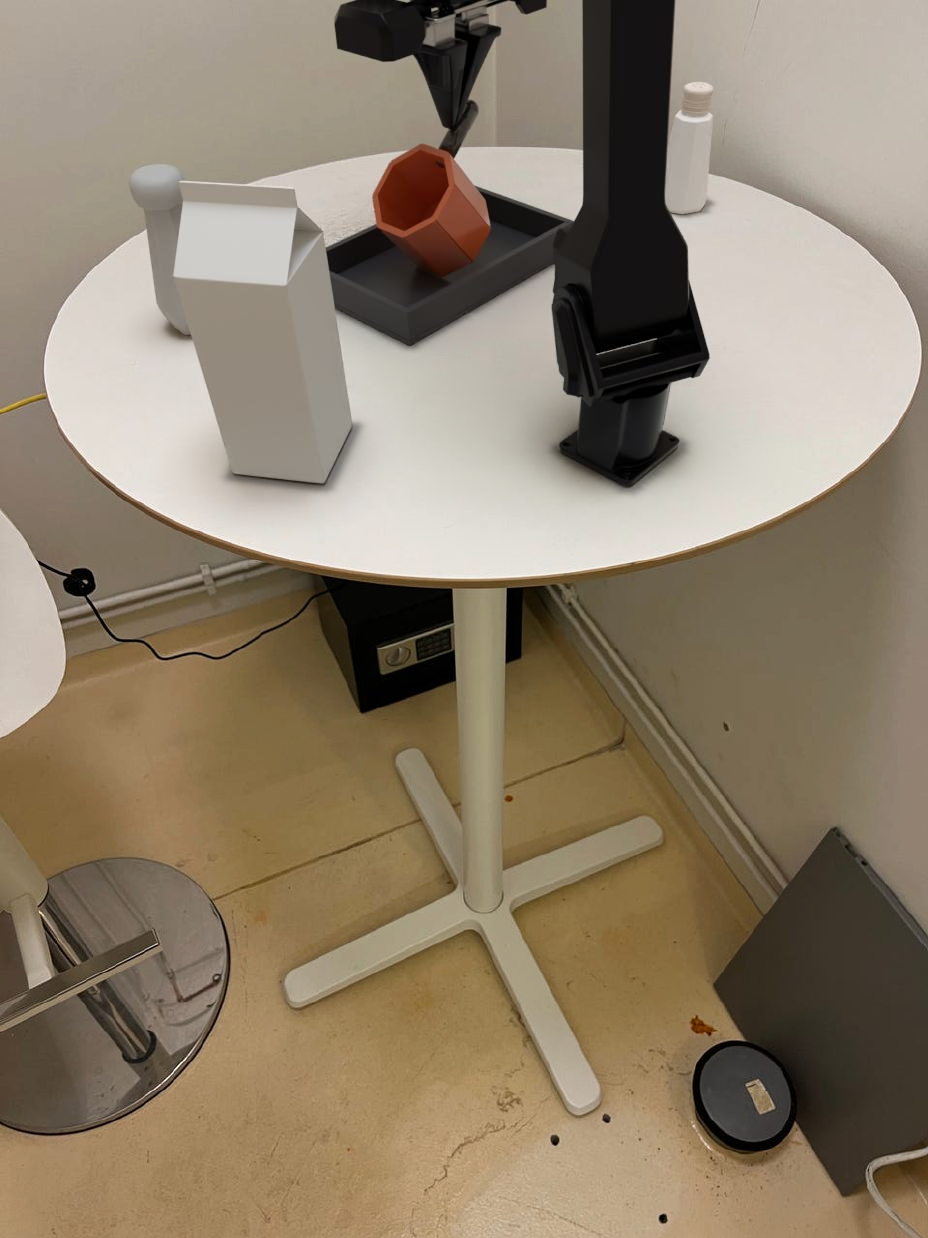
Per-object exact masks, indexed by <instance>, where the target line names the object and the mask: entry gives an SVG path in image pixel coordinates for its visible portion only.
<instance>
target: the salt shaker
mask: <svg viewBox="0 0 928 1238" xmlns="http://www.w3.org/2000/svg"><path fill="white" fill-rule="evenodd" d="M179 181H186V179H185V176H184V174H183V172H181V170H180V169H179V168H177V167H176V166H174V165H171V164H168V163H167V164H166V163H156V164H148V165H145V166H142V167H139V168H137V169H136V170H134V171H133V172H132V174H131V176H130V178H129V180H128V185H129V192H130V194H131V196H132V197H131V198H132V200H133V201H134V202H135V203H136V205H137V206H138V207H139V208H142V209H143V214H144V222H145V228H146V235H147V242H148V250H149V257H150V264H151V265H150V266H151V273H152V279H153V287H154V294H155V301H156V305H157V307H158V309H159V311H160V312H161V314H162V315H163V316H164V318H166V319H167V321H168V322H169V323H170V324H171V325H172V327H173V328H174V329H176V331H178V332H180V333H181V334H182V335H184V336H191V333H190V329H189V326H188V323H187V319H186V316H185V312H184V309H183V306H182V302H181V299H180V296H179V292H178V289H177V286H176V282H175V279H174V277H173V274H174V266H175V259H176V251H177V244H178V236H179V229H180V221H181V213H182V206H183V198H182V194H181V191H180V187H179Z"/></svg>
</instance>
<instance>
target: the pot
mask: <svg viewBox="0 0 928 1238" xmlns="http://www.w3.org/2000/svg"><path fill="white" fill-rule="evenodd" d="M479 113H480V107H479V105H478V103H477V102H476V100H474V99H471V98H468V101H467V103H466V106H465V108H464V111H463V113H462V116H461V118H460V121H459V124H458V126H457V127H455V128H453V129H448V128H447V131H446V132H445V135H444V137H443V139H442V140H441V142H440V143H439V146H438V148H437V147H434V146H431V145H429V144H426V143H423V142H422V143H419V144H417V145H416V146H414V147H412V148H410V149H408V150H407V151H405V152H404V153H402V154H399V155H398V156H396V157H395V158H393V159H391V160H390V162H388V164H387V166H386V168H385V170H384V172H383V173H382V176H381V177H380V179H379V181H378V183H377V185H376V187H375V188H374V191H373V192H372V196H371V199H372V204H373V209H374V210H373V211H374V219H375V224H376V225H377V227H378V228H379V229H380V230H381V231H382V232H383V233H384V234H385V235H386V236H387V237H388V238H389V239H390V240H391V241H392V242H393V243H394V244H395V245H396V246H397V247H398V248H399V249H400V250H401V251H402V252H403V253H404V254H405V255H406V256H407V257H408V258H409V259H410V260H411V261H412V262H413V263H414V264H415V265H416V266H417V267H419V268H421V269H424V270H426V271H428V272H430V273H433V274H435V275H437V276H440V277H444V276H446V275H448V274H450V273H453V272H455V271H457V270H459V269H461V268H463V267H465V266H467V265H469V264H471V263H472V262H473V261H474V260H475V258H476V256H477V254H478V252H479V251H480V249H481V247H482V245H483V243H484V242H485V240H486V238H487V236H488V234H489V233H490V231H491V230H490V229H491V226H490V221H489V216H488V211H487V205H486V200H485V199H484V197H483V196H482V195H481V194H480V192H479V191H478V190H477V188H476V187H475V186H476V185H475V184H474V183H473V182H472V181H471V179H470V178H469V177H468V176H467V174H466V173H465V172H464V170H463V169H462V167H461V166H460V165H459V164H458V162H457V161H456V160H455V158H456V157H457V154H458V152H459V151H460V148H461V147H462V145H463V144H464V142H465V140H466V138H467V136H468V134H469V132H470V131H471V129H472V127H473V125H474V123H475V121H476V119H477V118H478V116H479ZM474 185H475V186H474Z"/></svg>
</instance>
